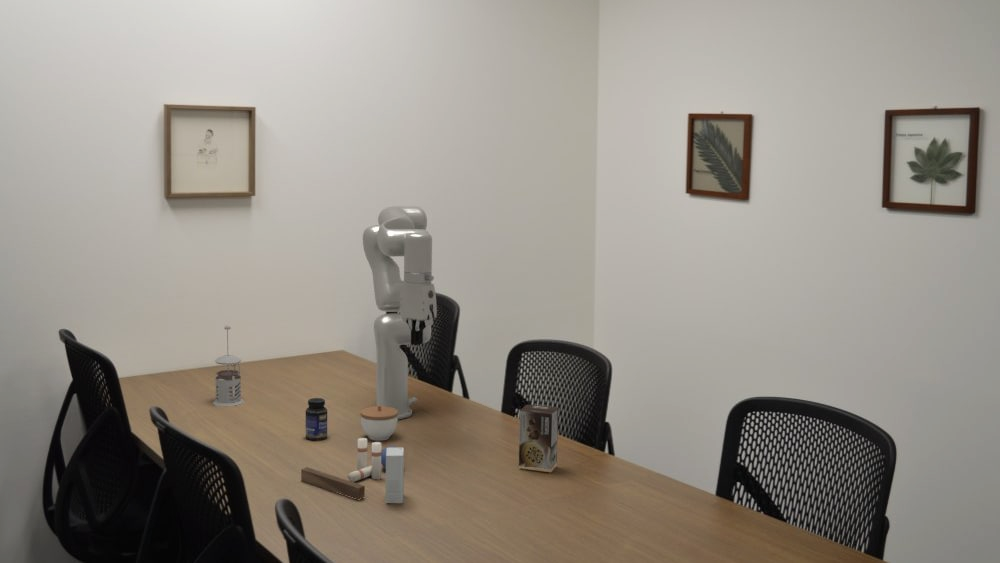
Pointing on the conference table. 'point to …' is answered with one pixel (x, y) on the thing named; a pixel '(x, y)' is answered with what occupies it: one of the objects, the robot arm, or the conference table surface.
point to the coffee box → (538, 436)
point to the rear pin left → (376, 460)
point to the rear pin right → (362, 453)
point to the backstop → (332, 483)
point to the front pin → (360, 474)
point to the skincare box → (394, 475)
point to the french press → (228, 381)
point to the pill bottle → (316, 419)
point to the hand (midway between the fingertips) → (416, 344)
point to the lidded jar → (379, 422)
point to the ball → (383, 456)
